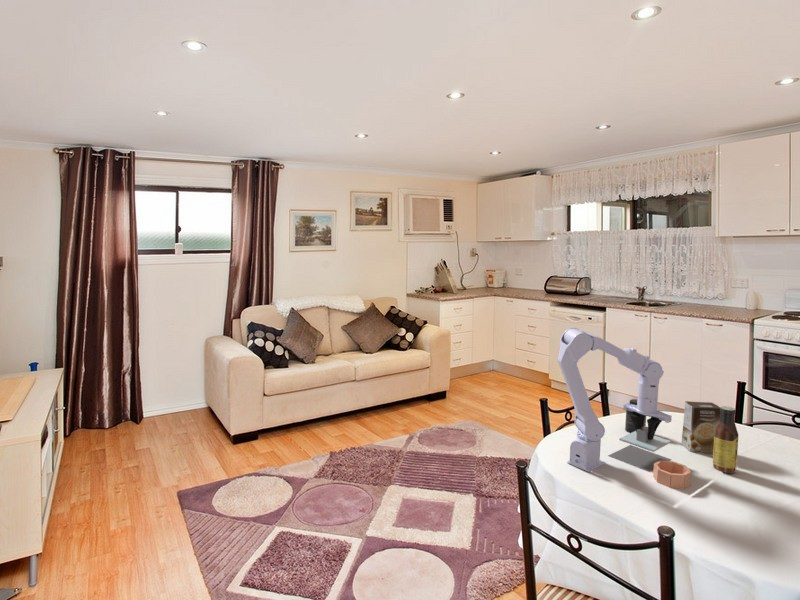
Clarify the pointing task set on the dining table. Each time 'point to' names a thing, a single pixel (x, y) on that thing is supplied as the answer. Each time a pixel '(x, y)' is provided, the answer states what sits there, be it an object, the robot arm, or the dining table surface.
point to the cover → (644, 440)
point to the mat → (638, 457)
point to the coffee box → (700, 426)
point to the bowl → (671, 474)
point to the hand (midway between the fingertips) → (645, 437)
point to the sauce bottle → (726, 441)
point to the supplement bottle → (629, 422)
